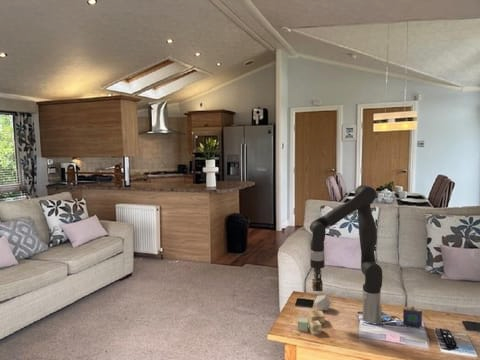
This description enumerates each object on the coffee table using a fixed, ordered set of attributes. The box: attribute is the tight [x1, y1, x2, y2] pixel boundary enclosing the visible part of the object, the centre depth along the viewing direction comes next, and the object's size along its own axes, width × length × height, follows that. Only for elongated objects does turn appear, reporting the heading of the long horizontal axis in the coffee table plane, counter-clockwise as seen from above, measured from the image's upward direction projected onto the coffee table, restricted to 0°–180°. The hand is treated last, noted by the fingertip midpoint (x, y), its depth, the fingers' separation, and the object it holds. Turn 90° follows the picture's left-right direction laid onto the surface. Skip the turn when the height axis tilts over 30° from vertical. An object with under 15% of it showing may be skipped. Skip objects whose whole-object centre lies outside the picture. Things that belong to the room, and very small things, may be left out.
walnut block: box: [311, 278, 324, 292], centre depth 198 cm, size 5×5×5 cm
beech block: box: [308, 320, 322, 336], centre depth 191 cm, size 5×5×5 cm
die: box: [314, 295, 332, 312], centre depth 216 cm, size 8×9×10 cm
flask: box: [402, 305, 423, 328], centre depth 194 cm, size 9×3×11 cm, turn 74°
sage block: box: [297, 317, 309, 333], centre depth 194 cm, size 5×5×5 cm
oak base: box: [308, 310, 326, 326], centre depth 201 cm, size 7×7×5 cm
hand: (317, 288), depth 199 cm, fingers closed on walnut block, 5 cm apart
